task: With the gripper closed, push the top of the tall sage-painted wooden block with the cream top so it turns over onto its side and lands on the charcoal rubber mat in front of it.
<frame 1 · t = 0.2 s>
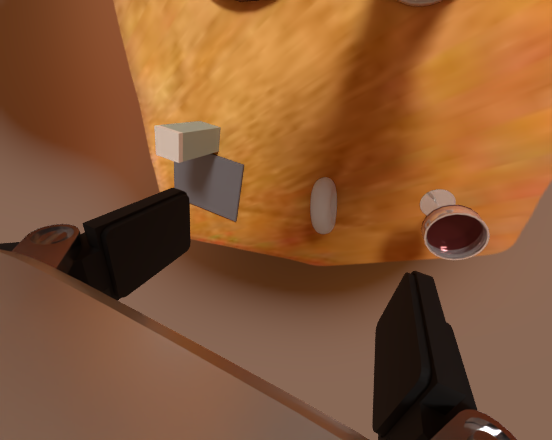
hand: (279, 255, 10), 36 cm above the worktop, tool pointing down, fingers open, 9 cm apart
charcoal mat: (206, 182, 56), on the worktop
wineglass: (437, 203, 40), on the worktop
donut: (330, 196, 46), on the worktop
sage block: (209, 136, 51), on the worktop
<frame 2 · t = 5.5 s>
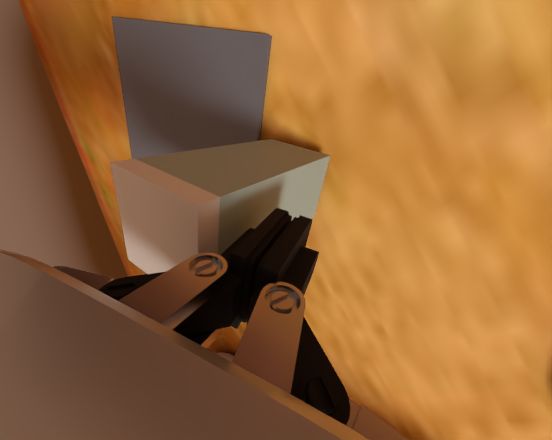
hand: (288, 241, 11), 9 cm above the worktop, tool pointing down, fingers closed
charcoal mat: (189, 147, 22), on the worktop
sage block: (293, 178, 19), on the worktop, tilted 10°, touching gripper
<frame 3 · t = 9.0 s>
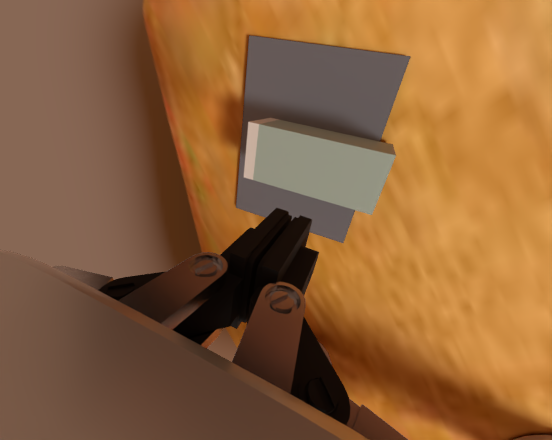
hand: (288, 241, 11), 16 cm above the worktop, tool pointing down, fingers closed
charcoal mat: (302, 150, 25), on the worktop
sage block: (382, 178, 21), point 3 cm above the worktop, tilted 90°, touching charcoal mat
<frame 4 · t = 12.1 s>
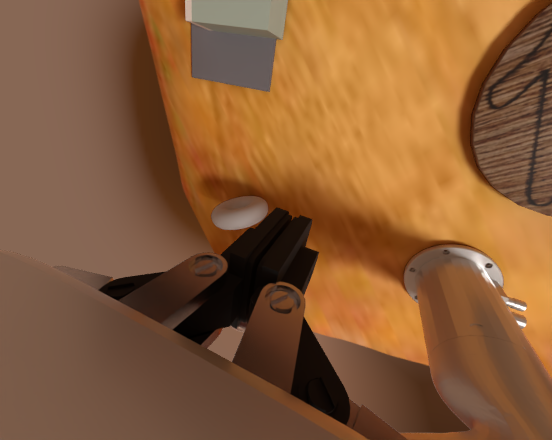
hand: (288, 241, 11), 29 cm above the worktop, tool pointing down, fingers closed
charcoal mat: (233, 12, 34), on the worktop
donut: (253, 201, 46), on the worktop
sage block: (278, 10, 29), point 3 cm above the worktop, tilted 90°, touching charcoal mat
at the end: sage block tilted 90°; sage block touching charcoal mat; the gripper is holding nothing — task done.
